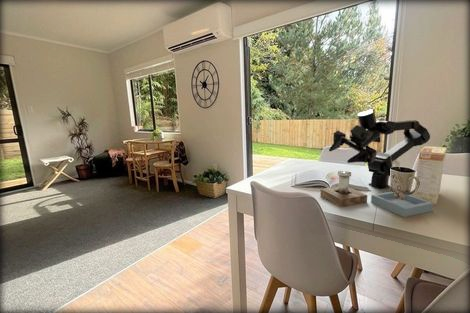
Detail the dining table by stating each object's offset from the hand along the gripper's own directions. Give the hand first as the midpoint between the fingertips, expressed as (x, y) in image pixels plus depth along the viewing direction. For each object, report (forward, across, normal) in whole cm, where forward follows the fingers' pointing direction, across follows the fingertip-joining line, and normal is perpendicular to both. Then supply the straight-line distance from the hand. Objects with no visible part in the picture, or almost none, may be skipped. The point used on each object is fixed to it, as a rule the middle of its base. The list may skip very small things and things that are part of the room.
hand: (338, 155), depth 92 cm
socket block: (+8, +10, +12) cm, 17 cm away
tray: (-5, +25, +12) cm, 28 cm away
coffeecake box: (-21, +26, +19) cm, 39 cm away
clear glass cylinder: (+8, +10, +12) cm, 17 cm away
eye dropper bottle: (-35, +5, +35) cm, 50 cm away
